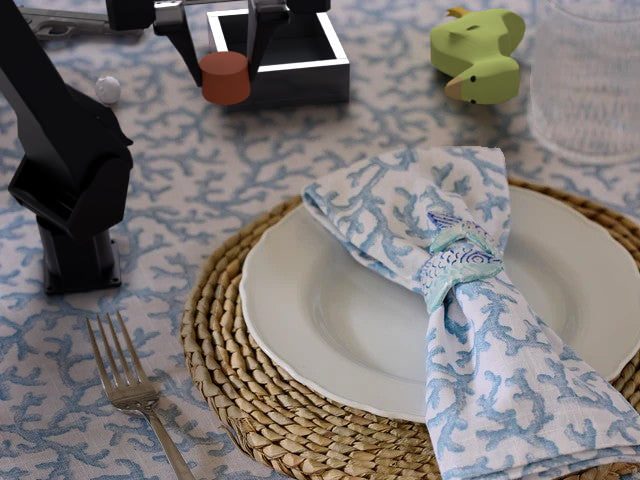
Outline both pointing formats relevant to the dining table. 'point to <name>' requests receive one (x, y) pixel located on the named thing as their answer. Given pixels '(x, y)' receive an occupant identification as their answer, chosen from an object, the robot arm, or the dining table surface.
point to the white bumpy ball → (107, 89)
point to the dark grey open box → (287, 60)
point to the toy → (479, 54)
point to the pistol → (68, 23)
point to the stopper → (225, 77)
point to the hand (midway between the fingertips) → (225, 82)
